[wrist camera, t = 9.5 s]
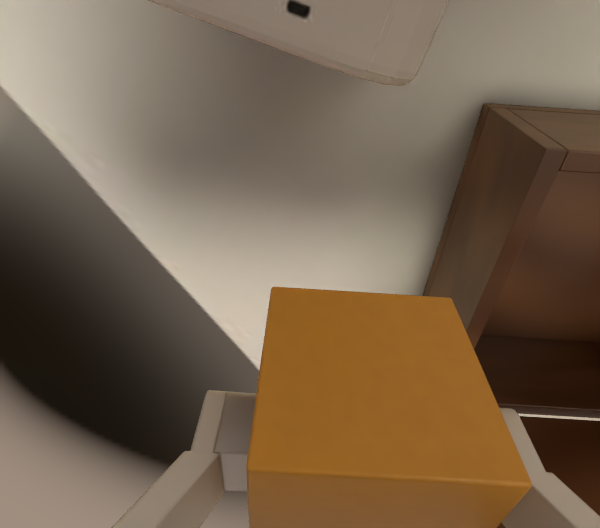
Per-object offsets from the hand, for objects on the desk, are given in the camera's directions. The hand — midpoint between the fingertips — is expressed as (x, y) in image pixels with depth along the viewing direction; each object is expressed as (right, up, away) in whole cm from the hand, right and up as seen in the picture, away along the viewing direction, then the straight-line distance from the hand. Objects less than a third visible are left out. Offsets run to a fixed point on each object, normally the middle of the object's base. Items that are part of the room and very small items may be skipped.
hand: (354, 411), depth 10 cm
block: (0, +1, +2) cm, 2 cm away
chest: (+14, +5, +13) cm, 20 cm away
